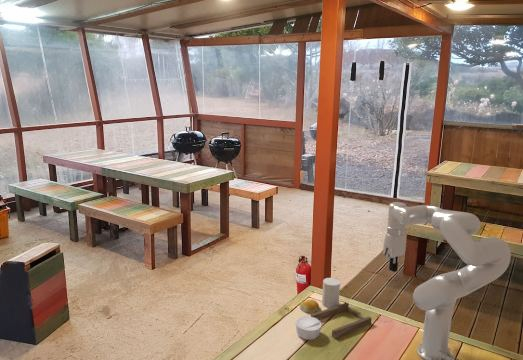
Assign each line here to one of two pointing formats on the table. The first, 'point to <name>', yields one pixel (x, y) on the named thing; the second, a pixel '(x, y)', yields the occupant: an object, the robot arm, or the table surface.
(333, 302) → the cup
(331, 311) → the walnut open-sided frame
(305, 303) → the bread roll
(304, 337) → the ramekin
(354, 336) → the table surface
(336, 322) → the table surface
